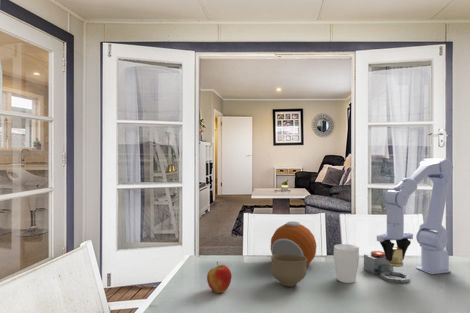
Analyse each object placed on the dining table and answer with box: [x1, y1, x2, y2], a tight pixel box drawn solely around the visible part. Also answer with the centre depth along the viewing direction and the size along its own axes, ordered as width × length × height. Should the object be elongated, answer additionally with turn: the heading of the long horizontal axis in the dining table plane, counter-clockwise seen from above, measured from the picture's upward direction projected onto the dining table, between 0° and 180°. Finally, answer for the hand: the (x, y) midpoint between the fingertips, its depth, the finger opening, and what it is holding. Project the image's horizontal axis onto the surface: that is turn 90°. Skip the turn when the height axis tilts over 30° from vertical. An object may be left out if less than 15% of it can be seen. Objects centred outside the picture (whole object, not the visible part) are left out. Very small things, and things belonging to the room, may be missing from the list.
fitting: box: [388, 246, 404, 268], centre depth 131 cm, size 5×5×6 cm
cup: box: [333, 243, 360, 284], centre depth 130 cm, size 9×9×12 cm
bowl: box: [270, 254, 307, 287], centre depth 125 cm, size 13×13×10 cm
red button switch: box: [363, 250, 411, 285], centre depth 136 cm, size 10×20×7 cm, turn 17°
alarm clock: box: [270, 221, 317, 268], centre depth 149 cm, size 19×18×17 cm
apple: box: [206, 261, 232, 294], centre depth 119 cm, size 8×8×10 cm
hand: (394, 259), depth 131 cm, fingers closed on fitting, 5 cm apart
